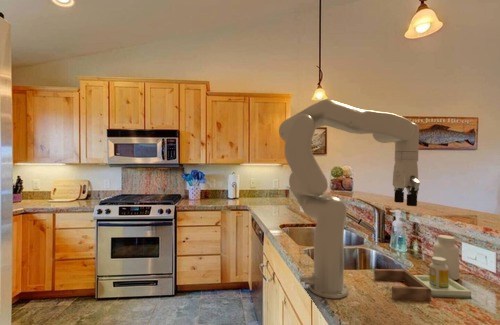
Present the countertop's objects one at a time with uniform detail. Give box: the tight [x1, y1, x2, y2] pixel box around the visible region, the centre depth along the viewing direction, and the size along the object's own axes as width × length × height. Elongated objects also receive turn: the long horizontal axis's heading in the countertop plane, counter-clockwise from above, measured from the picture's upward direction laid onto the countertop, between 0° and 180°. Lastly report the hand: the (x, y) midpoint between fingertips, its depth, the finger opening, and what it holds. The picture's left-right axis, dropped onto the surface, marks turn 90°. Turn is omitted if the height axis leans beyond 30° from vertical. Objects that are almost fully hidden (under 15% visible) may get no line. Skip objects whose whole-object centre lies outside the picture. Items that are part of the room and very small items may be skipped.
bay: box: [373, 268, 432, 301], centre depth 92 cm, size 11×15×4 cm
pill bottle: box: [432, 234, 460, 281], centre depth 103 cm, size 8×8×15 cm
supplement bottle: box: [428, 256, 449, 289], centre depth 92 cm, size 5×5×10 cm
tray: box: [412, 274, 472, 299], centre depth 92 cm, size 12×12×2 cm
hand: (405, 204), depth 99 cm, fingers open, 9 cm apart
